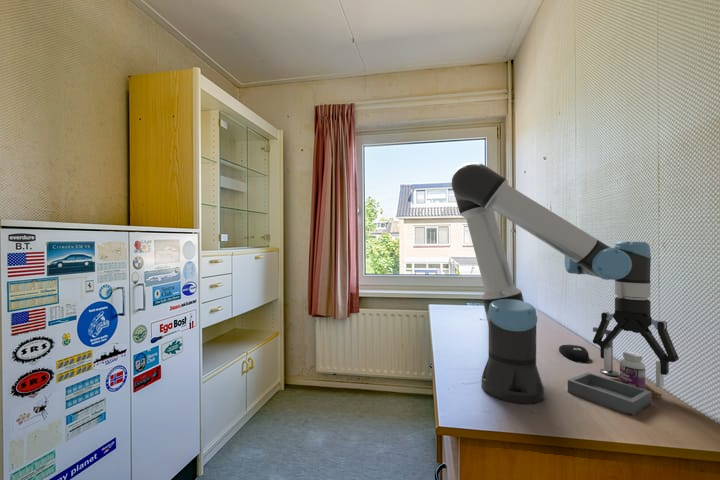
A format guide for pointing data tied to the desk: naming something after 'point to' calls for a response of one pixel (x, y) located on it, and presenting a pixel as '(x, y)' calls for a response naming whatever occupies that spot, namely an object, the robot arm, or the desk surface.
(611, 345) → the t stake
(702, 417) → the desk surface
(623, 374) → the pill bottle
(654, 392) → the collar
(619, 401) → the tray
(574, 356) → the computer mouse
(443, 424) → the desk surface
